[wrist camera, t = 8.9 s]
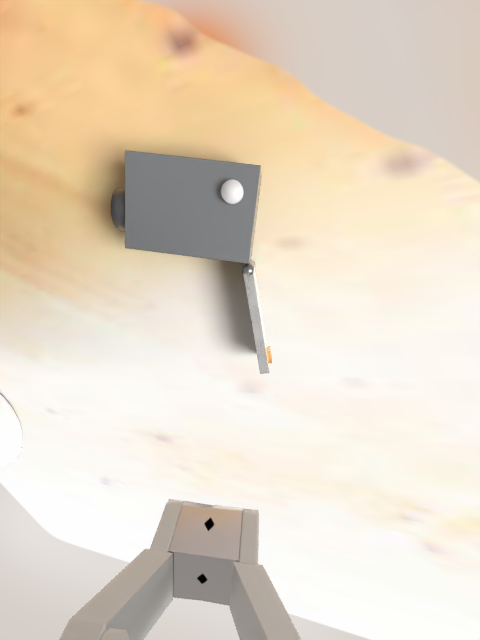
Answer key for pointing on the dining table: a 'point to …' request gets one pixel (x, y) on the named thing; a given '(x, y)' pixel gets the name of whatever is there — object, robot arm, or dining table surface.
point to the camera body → (188, 206)
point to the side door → (256, 317)
